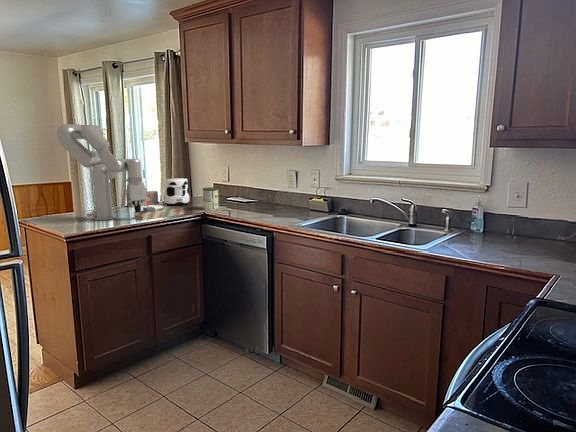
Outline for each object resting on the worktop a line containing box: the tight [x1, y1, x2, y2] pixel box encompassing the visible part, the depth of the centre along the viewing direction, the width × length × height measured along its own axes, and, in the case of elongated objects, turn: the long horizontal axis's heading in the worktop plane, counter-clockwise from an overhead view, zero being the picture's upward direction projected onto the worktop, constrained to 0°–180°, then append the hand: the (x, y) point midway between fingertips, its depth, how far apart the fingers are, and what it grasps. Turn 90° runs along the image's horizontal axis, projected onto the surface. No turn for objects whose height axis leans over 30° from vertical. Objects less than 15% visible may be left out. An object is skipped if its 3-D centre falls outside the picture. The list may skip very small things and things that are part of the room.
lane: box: [133, 205, 185, 221], centre depth 265 cm, size 28×10×4 cm, turn 136°
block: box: [142, 206, 156, 213], centre depth 260 cm, size 5×5×4 cm
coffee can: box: [202, 186, 220, 211], centre depth 291 cm, size 10×10×14 cm
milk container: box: [163, 177, 190, 206], centre depth 310 cm, size 17×17×18 cm
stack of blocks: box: [125, 187, 159, 208], centre depth 305 cm, size 21×6×12 cm, turn 142°
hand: (137, 211), depth 254 cm, fingers closed
